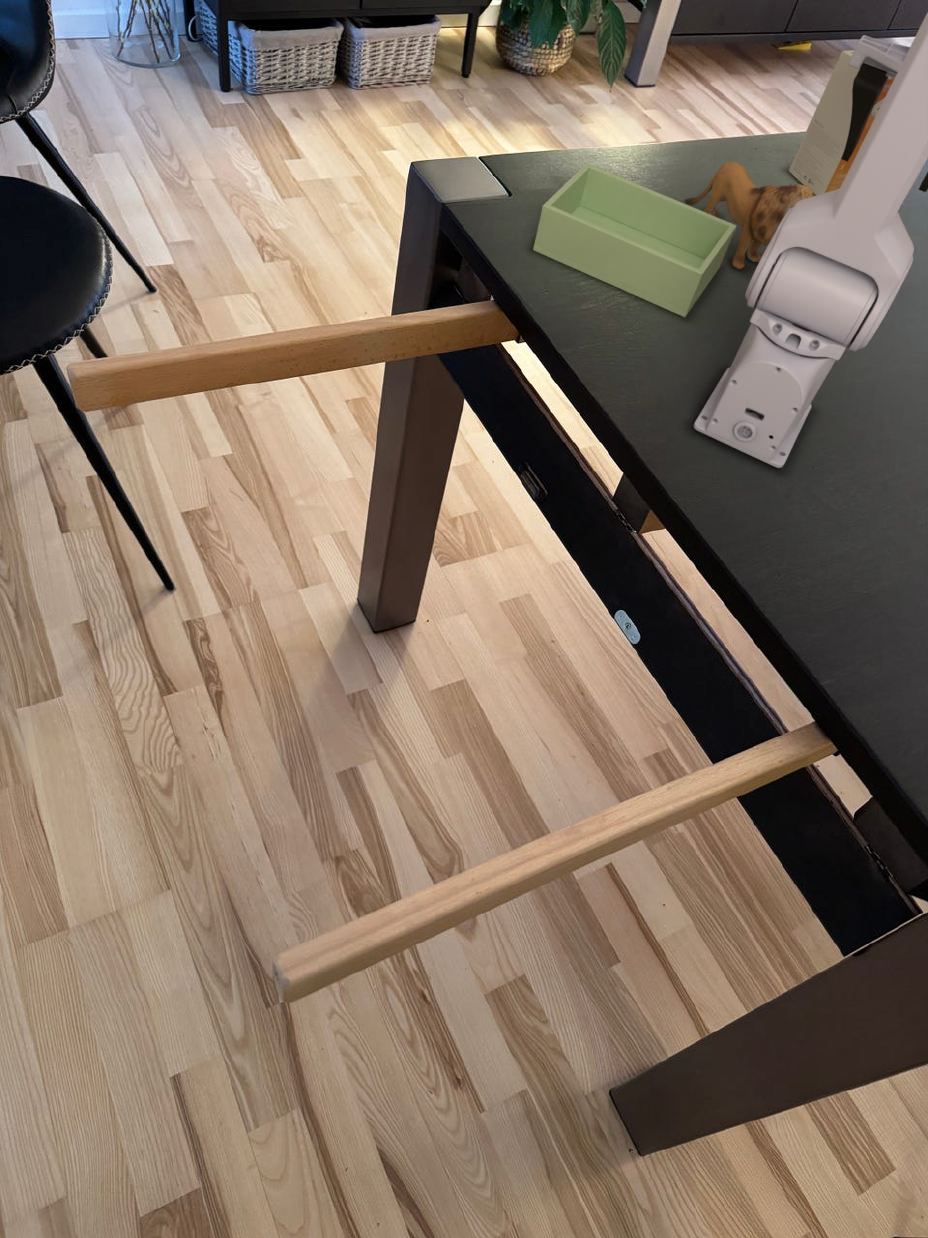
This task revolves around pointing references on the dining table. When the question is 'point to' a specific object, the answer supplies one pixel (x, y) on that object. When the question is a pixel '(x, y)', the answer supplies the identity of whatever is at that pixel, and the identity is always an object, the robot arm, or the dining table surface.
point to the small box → (832, 132)
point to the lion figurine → (750, 207)
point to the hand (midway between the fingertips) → (884, 171)
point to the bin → (633, 238)
